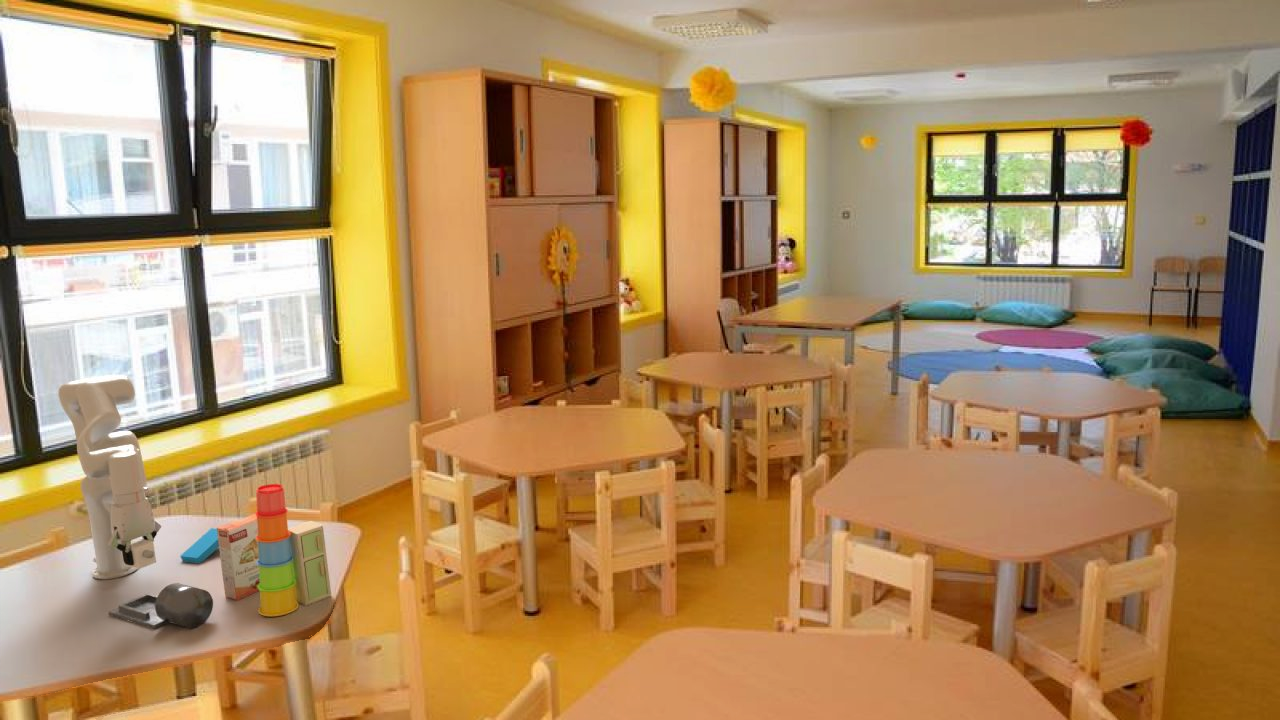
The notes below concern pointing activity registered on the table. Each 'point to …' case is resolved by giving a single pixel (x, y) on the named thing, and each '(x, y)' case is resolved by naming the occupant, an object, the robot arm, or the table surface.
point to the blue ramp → (202, 547)
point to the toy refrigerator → (309, 562)
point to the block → (142, 553)
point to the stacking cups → (274, 553)
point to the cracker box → (239, 557)
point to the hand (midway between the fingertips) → (139, 560)
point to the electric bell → (168, 607)
